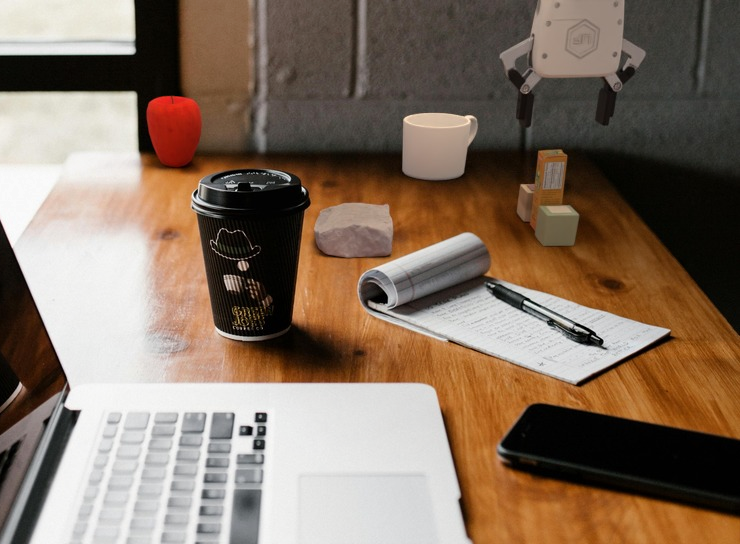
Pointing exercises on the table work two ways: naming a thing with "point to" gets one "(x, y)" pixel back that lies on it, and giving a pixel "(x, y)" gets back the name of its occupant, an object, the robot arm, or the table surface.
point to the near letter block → (556, 225)
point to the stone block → (355, 230)
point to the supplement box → (548, 181)
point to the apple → (174, 129)
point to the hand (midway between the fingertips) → (563, 124)
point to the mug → (436, 145)
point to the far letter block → (525, 201)
